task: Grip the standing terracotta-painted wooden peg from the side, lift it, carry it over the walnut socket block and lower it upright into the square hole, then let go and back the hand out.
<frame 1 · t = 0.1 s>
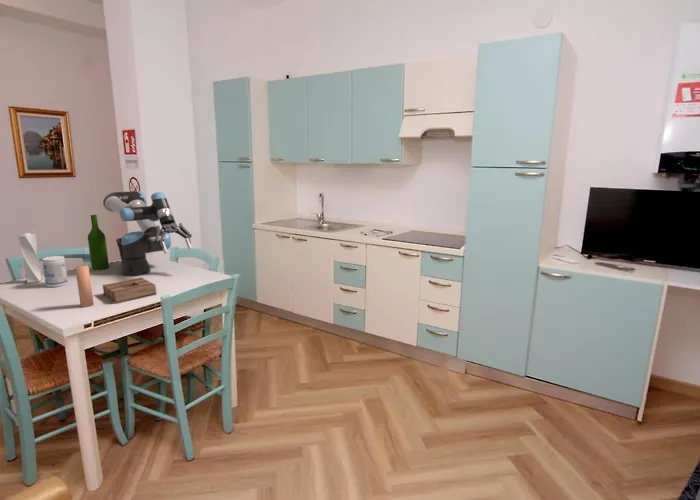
hand: (178, 251, 228), 15 cm above the table, fingers open, 13 cm apart
peg: (87, 305, 188), on the table
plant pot: (133, 264, 261), on the table
skyscraper: (34, 281, 223), on the table
supplement tub: (57, 285, 218), on the table
socket block: (130, 294, 203), on the table
wine bottle: (100, 268, 249), on the table
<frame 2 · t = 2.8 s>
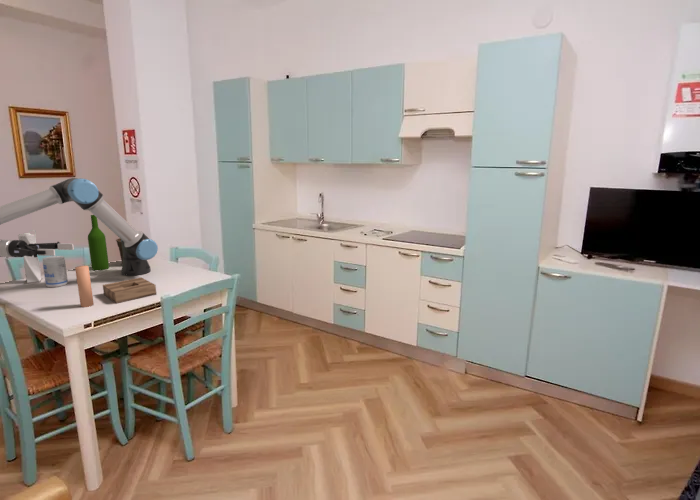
hand: (64, 249, 183), 26 cm above the table, fingers open, 13 cm apart
nothing on the table moved.
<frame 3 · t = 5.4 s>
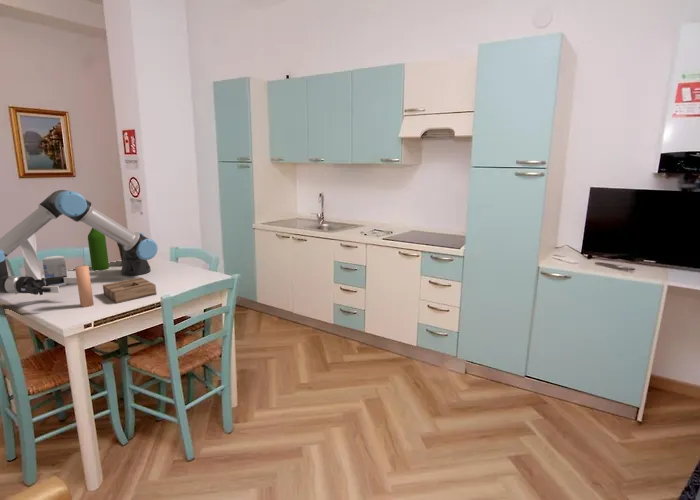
hand: (69, 284, 185), 10 cm above the table, fingers open, 13 cm apart
nothing on the table moved.
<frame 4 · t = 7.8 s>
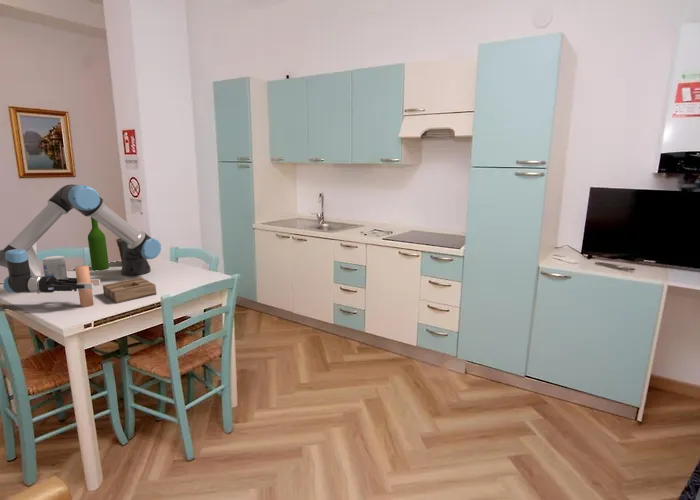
hand: (96, 284, 186), 10 cm above the table, fingers closed on peg, 5 cm apart
peg: (87, 305, 188), on the table, touching gripper
everything else where it was.
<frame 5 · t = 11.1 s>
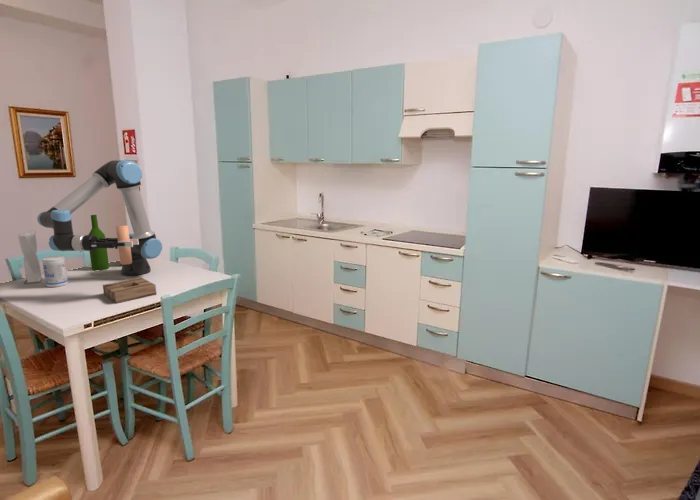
hand: (135, 242, 197), 26 cm above the table, fingers closed on peg, 5 cm apart
peg: (126, 263, 199), point 16 cm above the table, touching gripper
everything else where it was.
when the fingers open (12 cm above the table, at t = 14.5 s): peg drops 1 cm, resting on socket block.
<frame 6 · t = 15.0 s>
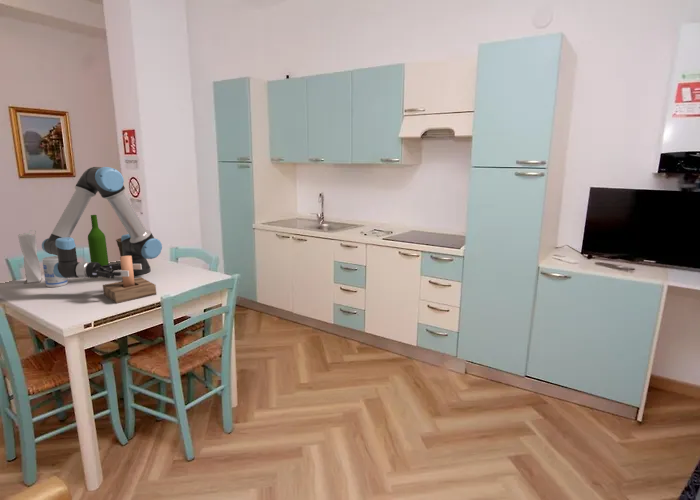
hand: (135, 270, 200), 12 cm above the table, fingers open, 12 cm apart
peg: (129, 292, 202), point 1 cm above the table, touching socket block
everything else where it was.
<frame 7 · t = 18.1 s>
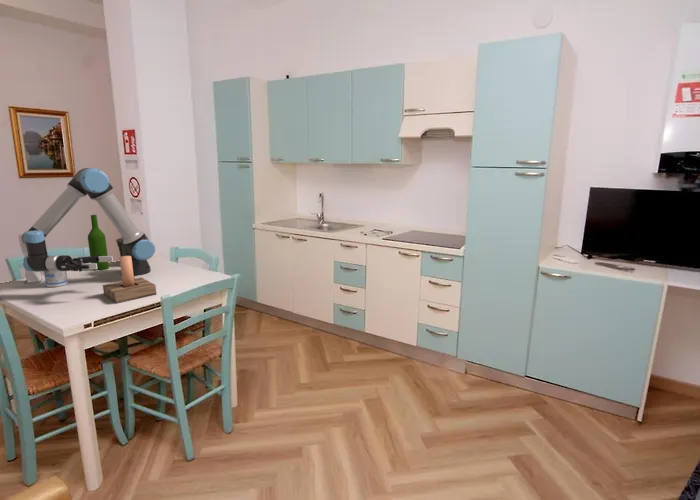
hand: (104, 262, 199), 16 cm above the table, fingers open, 13 cm apart
nothing on the table moved.
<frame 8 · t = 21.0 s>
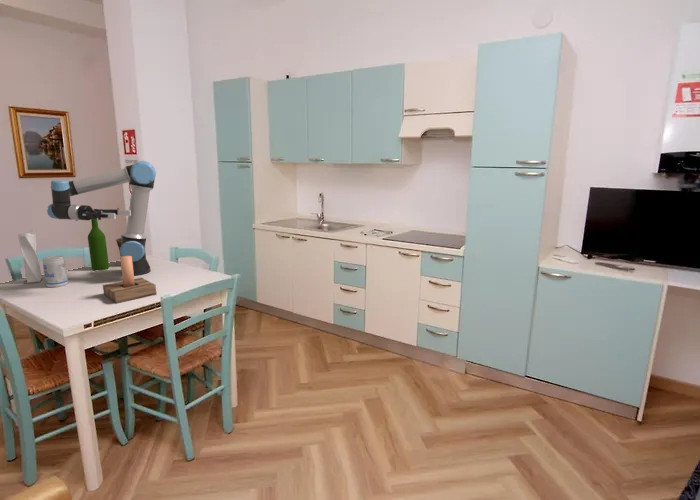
hand: (123, 214, 208), 38 cm above the table, fingers open, 13 cm apart
nothing on the table moved.
at the end: peg 0.0 cm off-centre on the socket block, point 1.0 cm above the socket block's base; peg tilted 1°; the gripper is holding nothing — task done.
